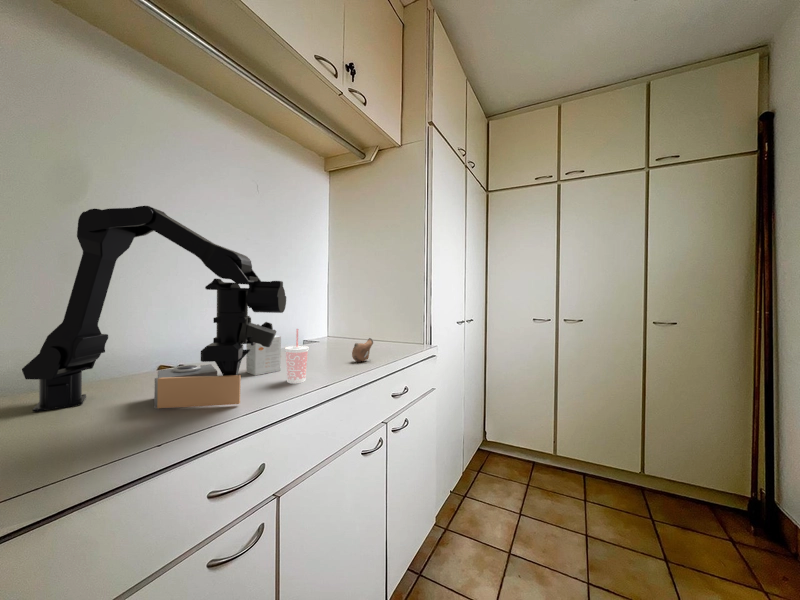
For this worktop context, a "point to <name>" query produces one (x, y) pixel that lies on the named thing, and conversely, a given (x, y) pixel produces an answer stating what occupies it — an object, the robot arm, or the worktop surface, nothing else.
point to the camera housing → (188, 371)
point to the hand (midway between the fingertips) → (231, 385)
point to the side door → (197, 391)
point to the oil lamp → (362, 350)
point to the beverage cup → (296, 362)
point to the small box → (264, 358)
